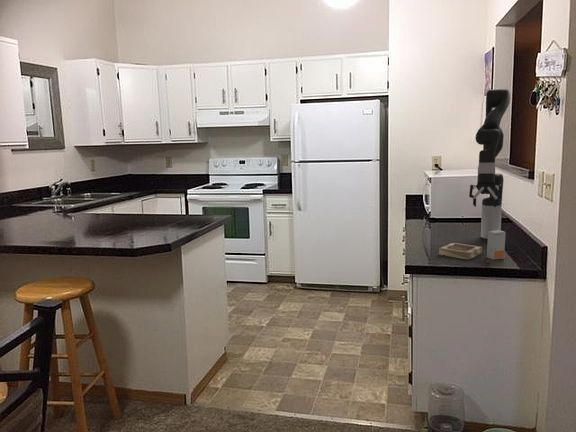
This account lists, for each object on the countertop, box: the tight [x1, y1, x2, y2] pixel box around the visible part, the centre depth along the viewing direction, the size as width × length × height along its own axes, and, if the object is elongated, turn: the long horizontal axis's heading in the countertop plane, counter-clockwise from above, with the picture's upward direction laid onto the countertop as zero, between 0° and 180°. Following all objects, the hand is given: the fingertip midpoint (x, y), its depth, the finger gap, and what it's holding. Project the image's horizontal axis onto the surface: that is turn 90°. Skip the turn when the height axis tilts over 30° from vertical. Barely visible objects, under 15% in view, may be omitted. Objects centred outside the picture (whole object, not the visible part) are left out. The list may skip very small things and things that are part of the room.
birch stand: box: [438, 242, 483, 260], centre depth 222 cm, size 14×14×3 cm
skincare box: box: [486, 230, 507, 260], centre depth 213 cm, size 6×4×12 cm
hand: (484, 206), depth 231 cm, fingers open, 8 cm apart
